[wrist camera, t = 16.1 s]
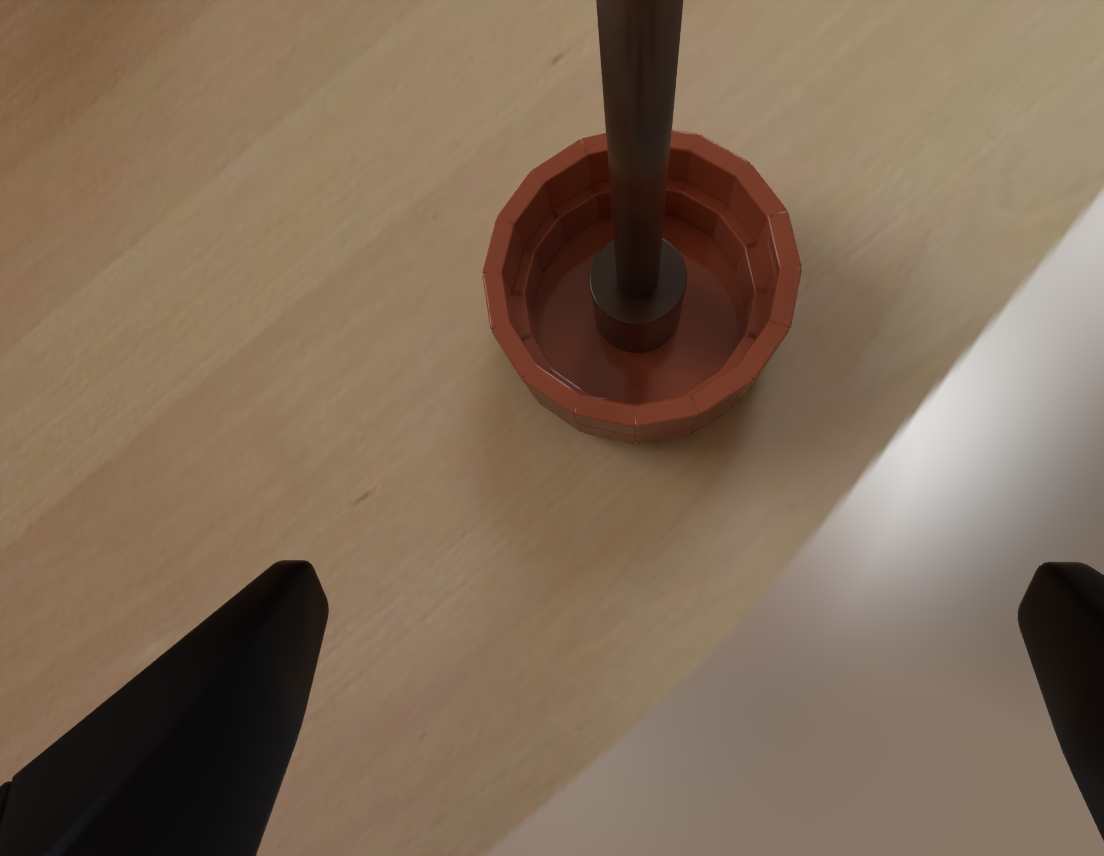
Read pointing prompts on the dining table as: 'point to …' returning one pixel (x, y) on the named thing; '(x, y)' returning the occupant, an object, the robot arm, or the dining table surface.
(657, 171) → the brown pestle
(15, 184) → the dining table surface
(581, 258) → the bowl
